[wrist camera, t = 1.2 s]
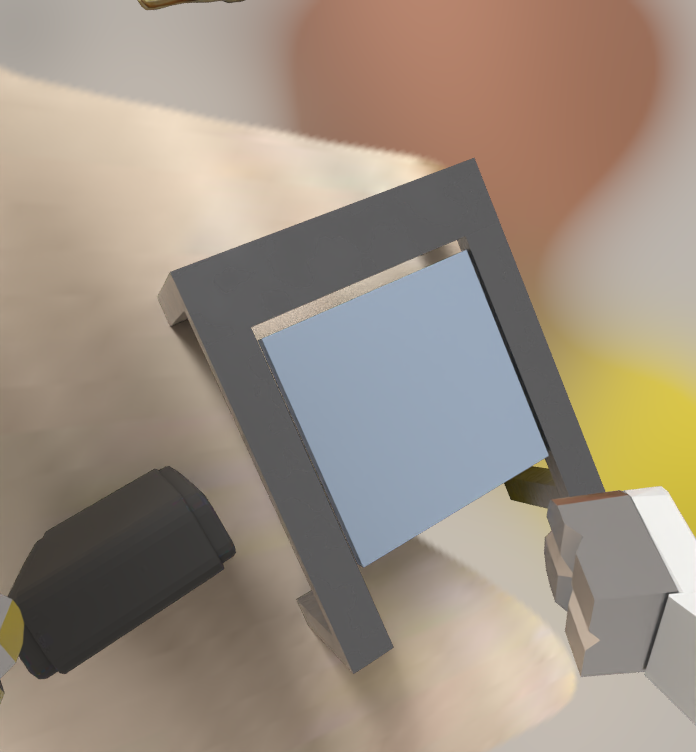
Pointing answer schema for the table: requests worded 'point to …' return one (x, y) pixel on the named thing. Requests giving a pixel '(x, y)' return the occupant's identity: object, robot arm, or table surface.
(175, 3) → the stone slab
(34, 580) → the card reader
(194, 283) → the stand
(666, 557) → the robot arm
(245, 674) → the table surface
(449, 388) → the trapdoor
